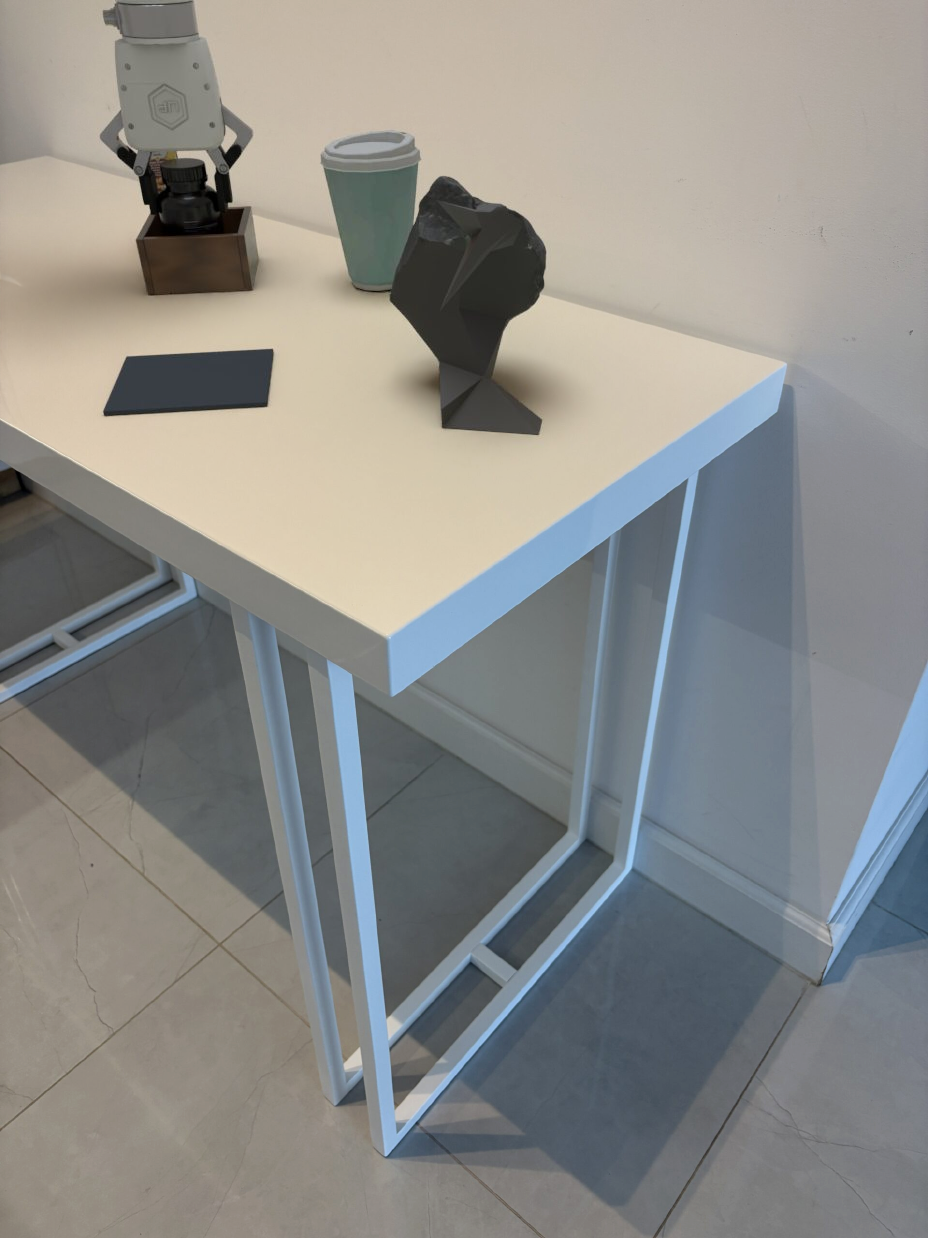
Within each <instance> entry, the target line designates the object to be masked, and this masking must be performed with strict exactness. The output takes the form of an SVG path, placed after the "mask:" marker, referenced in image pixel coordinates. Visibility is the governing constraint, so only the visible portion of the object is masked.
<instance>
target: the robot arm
mask: <svg viewBox="0 0 928 1238" xmlns="http://www.w3.org/2000/svg"><path fill="white" fill-rule="evenodd" d="M114 1H115V3H114V4H113V5H114V6H113V7H111V8H109V9H103V10H102V18H103V22H104V26H105V27H109V26H110V27H113V28H116V29H117V30H118V32H119V35H121V38H119V39H117V40H114V63H115V64H114V65H115V76H116V83H117V92H118V93H117V94H118V99H119V106H120V110H119V111H118V112H117V113H116V115H115V116H113V119H111V121H110V122H109V123H108V124H107V125H106V126H105V127H104V129H103V130H102V131H101V133H100V134H99V138H100V140H101V142H102V143H103V144H104V145H105V146H106V147H108V149H109V150H111V152H113V153H114V154H115V155H116V156H117V158H118V159H119V160H120V161H121V162H123V163H124V164H125V165H126V166H127V167H128V168H129V169H131V170H132V171H133V173H134V175H136V176H137V178H138V183H139V187H140V192H141V198H142V202H143V205H144V206H149V214H150V213H151V215H156V214H157V213H158V212H159V210H158V204H157V198H158V195H159V192H158V187H157V181H156V176H155V172H153V170H151V166H150V165H149V163H150V160H151V156H152V152H153V151H177V152H198V151H206V153H207V155H208V157H209V159H210V160H211V161H212V163H213V164H214V166H215V172H214V175H213V179H214V185H215V186H214V187H215V191H216V193H217V200H218V206H219V212H221V213H226V212H227V209H228V207H229V204H232V203H233V201H234V200H233V199H234V197H233V192H232V183H231V175H230V170H231V169H232V168H233V166H234V165H235V163H236V162H237V161H238V159H239V158H240V157H241V156H242V154H243V152H244V151H245V149H246V148H247V147H248V145H249V144H250V142H251V140H252V139H253V136H254V130H253V128H252V127H250V126H249V125H248V124H247V123H245V122H244V120H242V119H241V118H240V117H238V116H237V115H236V114H235V113H234V112H232V111H231V110H230V109H228V107H226V106H225V105H224V104H223V101H222V97H221V91H220V87H219V82H218V77H217V73H216V69H215V64H214V61H213V57H212V53H211V51H210V47H209V44H208V41H207V39H206V37H203V36H200V33H199V26H198V25H199V24H198V20H197V19H198V18H197V13H196V12H197V11H196V5H195V1H194V0H114ZM226 127H227V128H229V130H231V131H232V132H234V133H235V135H236V138H235V139H234V141H233V143H232V144H230V146H229V148H228V149H227V151H225V149H224V148H223V146H222V144H223V142H224V139H225V136H226V133H227V131H226ZM122 130H123V132H124V136H125V140H126V142H127V144H125V143H124V142H123V141H122V139H121V138H120V135H119V134H120V132H121V131H122ZM134 150H136V151H137V152H135V151H134Z"/></svg>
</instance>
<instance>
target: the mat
mask: <svg viewBox="0 0 928 1238" xmlns="http://www.w3.org/2000/svg"><path fill="white" fill-rule="evenodd" d="M273 360H274V348H260V349H242V350H241V349H240V350H221V351H220V350H219V351H206V352H205V351H203V352H185V353H184V352H181V353H165V354H164V353H162V354H147V355H145V354H144V355H127V356H126V357H125V358H124V361H123V363H122V366H121V368H120V371H119V373H118V375H117V377H116V380H115V382H114V385H113V387H112V389H111V391H110V394H109V397H108V399H107V401H106V403H105V405H104V408H103V411H102V414H103V416H117V415H118V416H119V415H134V414H150V413H151V414H153V413H155V414H156V413H170V412H188V411H204V410H205V411H206V410H219V409H222V410H223V409H238V408H239V409H240V408H241V409H242V408H258V407H267V406H268V402H269V401H268V400H269V393H270V386H271V376H272V368H273Z"/></svg>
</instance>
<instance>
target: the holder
mask: <svg viewBox="0 0 928 1238" xmlns="http://www.w3.org/2000/svg"><path fill="white" fill-rule="evenodd" d="M222 218H223V224H224V231H225V234H211V235H188V236H163V231H162V225H161V220H160V215H159V212H158V213H157V214H156V215H151V213H150V212H149V214H148V216H147V218H146V219H145V222H144V224H143V225H142V227H141V229H140V231H139V232H138V235H137V237H136V238H135V244H136V248H137V252H138V257H139V261H140V266H141V271H142V275H143V280H144V285H145V289H146V293H147V295H148V296H151V295H150V294H155V295H156V294H157V295H172V294H173V295H175V294H174V293H178V294H195V293H197V294H198V292H199V293H217V292H237V291H240V292H241V291H252V290H254V285H255V279H256V278H255V277H256V273H257V269H258V268H257V267H258V263H259V258H260V257H259V251H258V243H257V237H256V236H257V235H256V230H255V229H256V228H255V222H254V215H253V208H252V206H251V205H247V206H246V205H245V206H228V209H227V212H226V213H222ZM192 292H193V293H192ZM170 293H172V294H170Z"/></svg>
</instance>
